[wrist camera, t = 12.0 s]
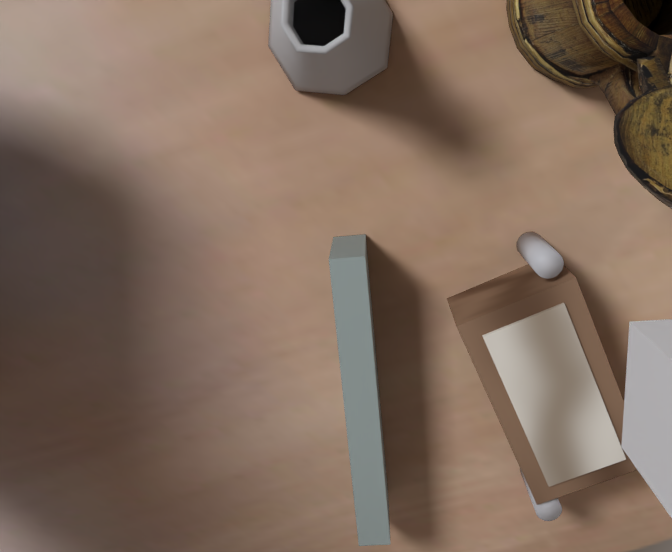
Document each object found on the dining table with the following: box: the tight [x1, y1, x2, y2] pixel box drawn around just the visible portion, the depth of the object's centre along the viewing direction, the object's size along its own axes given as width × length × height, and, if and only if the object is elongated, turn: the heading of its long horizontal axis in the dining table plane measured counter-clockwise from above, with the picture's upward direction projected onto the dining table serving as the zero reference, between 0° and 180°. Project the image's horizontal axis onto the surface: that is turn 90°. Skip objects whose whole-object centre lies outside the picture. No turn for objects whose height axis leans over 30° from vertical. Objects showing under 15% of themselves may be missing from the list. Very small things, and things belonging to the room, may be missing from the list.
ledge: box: [329, 232, 564, 546], centre depth 40 cm, size 13×19×5 cm
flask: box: [268, 0, 393, 95], centre depth 32 cm, size 7×7×10 cm
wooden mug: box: [507, 0, 672, 209], centre depth 27 cm, size 9×14×18 cm, turn 179°
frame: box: [447, 264, 637, 505], centre depth 40 cm, size 7×13×5 cm, turn 25°
